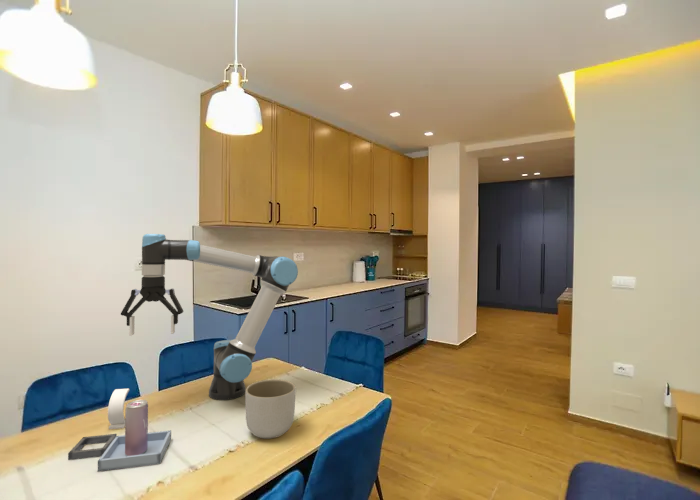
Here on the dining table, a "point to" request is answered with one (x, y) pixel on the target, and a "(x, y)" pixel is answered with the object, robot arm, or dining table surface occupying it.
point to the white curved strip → (117, 408)
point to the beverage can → (136, 427)
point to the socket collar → (79, 454)
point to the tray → (119, 460)
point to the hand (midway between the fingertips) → (152, 333)
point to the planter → (270, 407)
